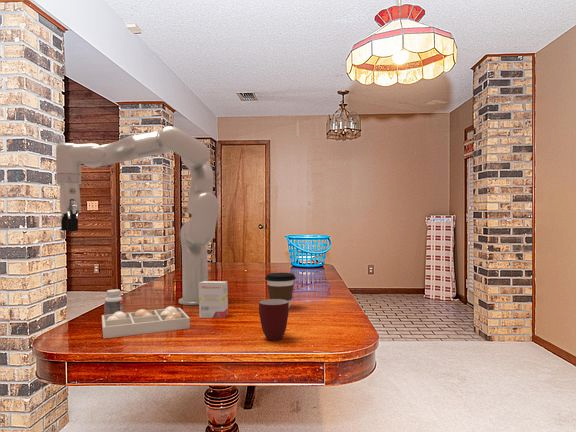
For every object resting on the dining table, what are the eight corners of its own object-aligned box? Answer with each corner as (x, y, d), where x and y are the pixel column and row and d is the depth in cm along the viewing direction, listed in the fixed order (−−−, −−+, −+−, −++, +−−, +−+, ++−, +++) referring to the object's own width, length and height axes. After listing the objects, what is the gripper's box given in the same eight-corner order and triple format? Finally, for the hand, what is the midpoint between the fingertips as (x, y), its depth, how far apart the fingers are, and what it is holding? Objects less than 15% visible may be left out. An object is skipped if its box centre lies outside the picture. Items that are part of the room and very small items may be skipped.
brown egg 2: (171, 323, 135) (171, 309, 135) (184, 324, 134) (184, 309, 134) (160, 329, 129) (160, 314, 129) (173, 330, 128) (173, 315, 128)
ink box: (228, 316, 147) (228, 280, 146) (224, 319, 142) (224, 282, 142) (203, 315, 148) (203, 280, 148) (198, 319, 143) (198, 282, 143)
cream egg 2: (169, 318, 142) (168, 304, 142) (180, 319, 141) (180, 305, 141) (156, 323, 136) (155, 309, 136) (168, 324, 135) (167, 310, 135)
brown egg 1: (130, 324, 135) (130, 309, 135) (141, 320, 139) (141, 307, 139) (146, 326, 132) (146, 312, 132) (157, 323, 136) (157, 309, 136)
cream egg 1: (119, 323, 136) (119, 309, 136) (130, 324, 134) (129, 310, 134) (102, 328, 130) (102, 314, 130) (113, 330, 128) (113, 315, 128)
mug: (260, 332, 126) (260, 297, 126) (289, 332, 126) (288, 297, 126) (258, 343, 116) (257, 305, 116) (289, 343, 116) (288, 304, 116)
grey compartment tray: (179, 318, 144) (179, 307, 144) (189, 330, 130) (189, 317, 130) (101, 327, 135) (101, 315, 134) (103, 340, 120) (103, 327, 120)
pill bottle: (124, 321, 142) (124, 290, 142) (106, 323, 139) (106, 292, 139) (120, 317, 146) (120, 288, 146) (103, 320, 143) (102, 290, 143)
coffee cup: (302, 307, 158) (302, 274, 158) (281, 313, 150) (280, 277, 150) (280, 303, 165) (279, 271, 165) (259, 308, 157) (258, 274, 157)
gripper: (86, 178, 145) (87, 230, 145) (75, 182, 159) (75, 229, 159) (61, 177, 141) (62, 231, 141) (51, 181, 155) (52, 230, 155)
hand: (69, 230), depth 150 cm, fingers open, 9 cm apart
